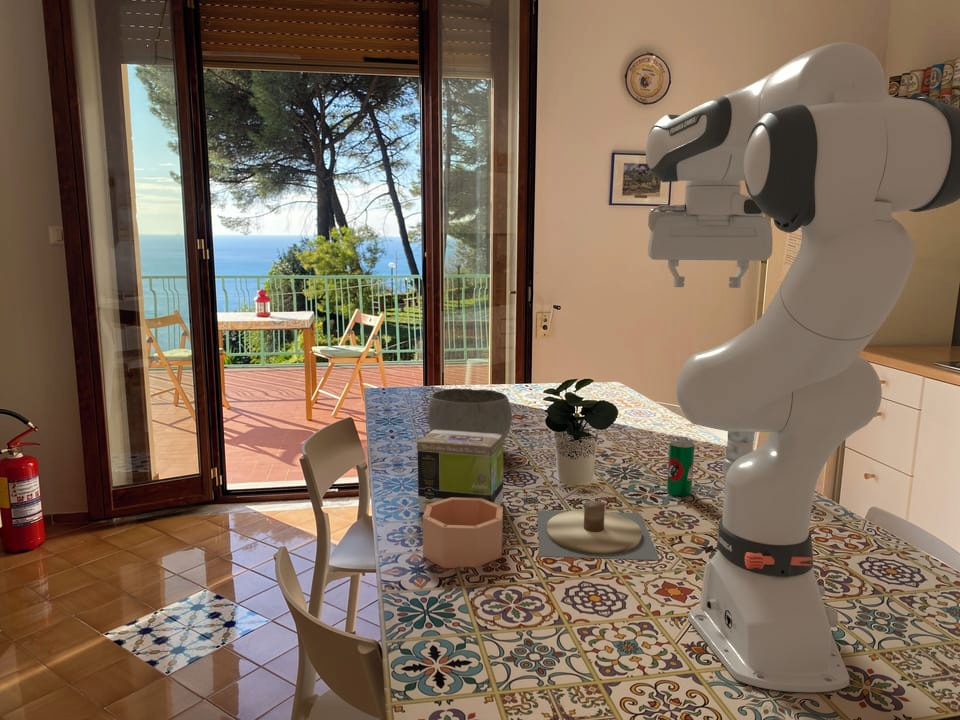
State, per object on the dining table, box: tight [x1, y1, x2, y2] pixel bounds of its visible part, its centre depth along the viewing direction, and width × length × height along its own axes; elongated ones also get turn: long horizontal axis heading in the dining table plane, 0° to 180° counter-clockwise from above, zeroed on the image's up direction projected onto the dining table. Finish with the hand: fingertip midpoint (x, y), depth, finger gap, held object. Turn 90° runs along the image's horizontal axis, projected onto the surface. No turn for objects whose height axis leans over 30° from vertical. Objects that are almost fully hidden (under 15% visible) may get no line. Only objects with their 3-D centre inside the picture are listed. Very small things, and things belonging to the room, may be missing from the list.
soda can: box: [666, 436, 696, 498], centre depth 147 cm, size 5×5×12 cm
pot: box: [422, 497, 504, 569], centre depth 121 cm, size 13×13×7 cm
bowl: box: [427, 388, 513, 442], centre depth 174 cm, size 20×20×15 cm
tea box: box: [416, 429, 504, 514], centre depth 139 cm, size 15×10×15 cm
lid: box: [546, 500, 642, 554], centre depth 127 cm, size 17×17×6 cm
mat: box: [536, 509, 661, 561], centre depth 128 cm, size 20×20×1 cm
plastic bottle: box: [721, 431, 756, 477], centre depth 156 cm, size 6×7×20 cm
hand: (706, 287), depth 121 cm, fingers open, 8 cm apart
